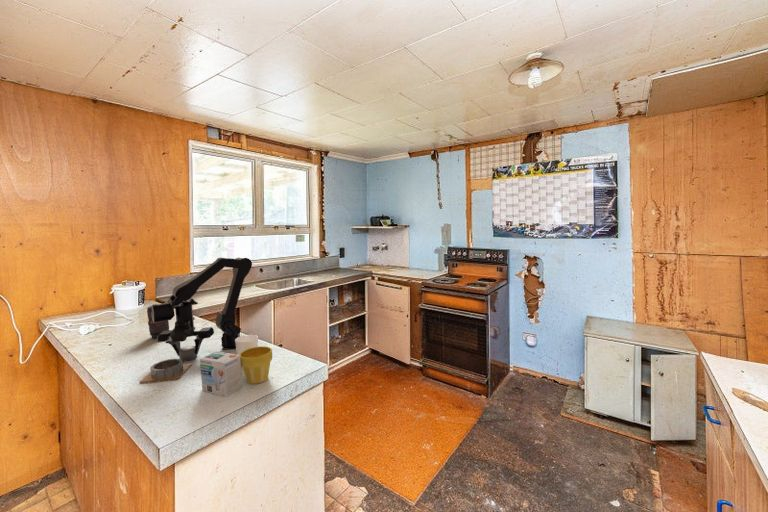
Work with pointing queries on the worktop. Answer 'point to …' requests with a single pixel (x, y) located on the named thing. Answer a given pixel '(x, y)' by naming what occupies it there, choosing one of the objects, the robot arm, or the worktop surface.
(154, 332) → the camera lens
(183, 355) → the gray tapered cylinder
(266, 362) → the plant pot
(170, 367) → the ring mount
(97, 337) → the worktop surface
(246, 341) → the white cup
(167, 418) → the worktop surface
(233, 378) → the light bulb box
